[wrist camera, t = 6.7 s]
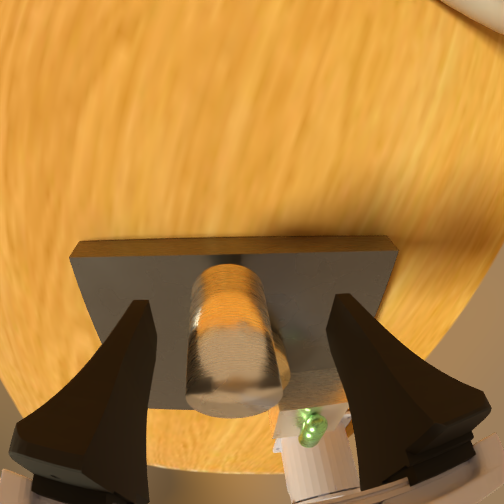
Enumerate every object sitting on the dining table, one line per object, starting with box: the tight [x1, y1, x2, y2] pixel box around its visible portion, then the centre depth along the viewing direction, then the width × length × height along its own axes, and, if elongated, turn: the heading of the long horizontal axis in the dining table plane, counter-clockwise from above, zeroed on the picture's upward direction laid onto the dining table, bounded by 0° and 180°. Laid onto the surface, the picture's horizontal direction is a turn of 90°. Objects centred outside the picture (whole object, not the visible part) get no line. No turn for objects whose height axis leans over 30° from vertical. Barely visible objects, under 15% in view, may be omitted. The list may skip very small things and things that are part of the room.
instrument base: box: [69, 236, 399, 448], centre depth 17 cm, size 15×17×6 cm
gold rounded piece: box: [186, 264, 291, 418], centre depth 14 cm, size 12×6×7 cm, turn 2°
